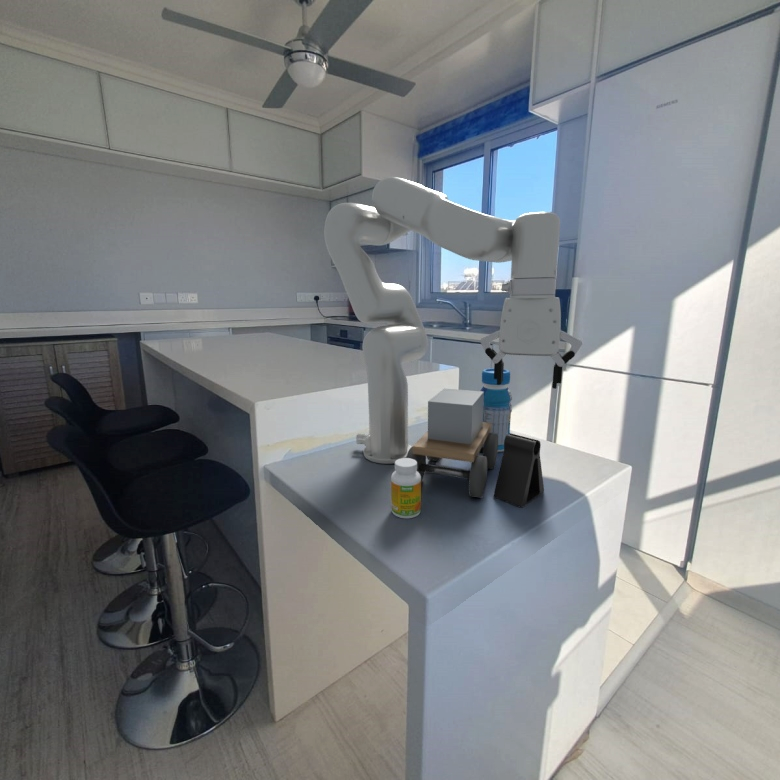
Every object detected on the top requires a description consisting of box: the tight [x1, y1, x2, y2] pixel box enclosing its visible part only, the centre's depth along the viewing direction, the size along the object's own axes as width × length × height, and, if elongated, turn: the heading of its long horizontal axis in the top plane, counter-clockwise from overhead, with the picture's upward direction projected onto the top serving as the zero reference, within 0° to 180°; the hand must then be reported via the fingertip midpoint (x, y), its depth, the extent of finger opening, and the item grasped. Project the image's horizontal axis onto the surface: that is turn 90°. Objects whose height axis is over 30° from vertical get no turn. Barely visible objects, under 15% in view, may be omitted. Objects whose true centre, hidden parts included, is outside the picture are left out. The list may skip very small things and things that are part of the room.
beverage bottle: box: [480, 368, 513, 453], centre depth 104 cm, size 8×8×20 cm
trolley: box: [406, 388, 499, 499], centre depth 88 cm, size 22×15×18 cm
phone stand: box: [493, 432, 545, 509], centre depth 80 cm, size 9×6×12 cm, turn 134°
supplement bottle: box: [390, 458, 422, 519], centre depth 74 cm, size 5×5×10 cm
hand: (526, 385), depth 76 cm, fingers open, 9 cm apart
